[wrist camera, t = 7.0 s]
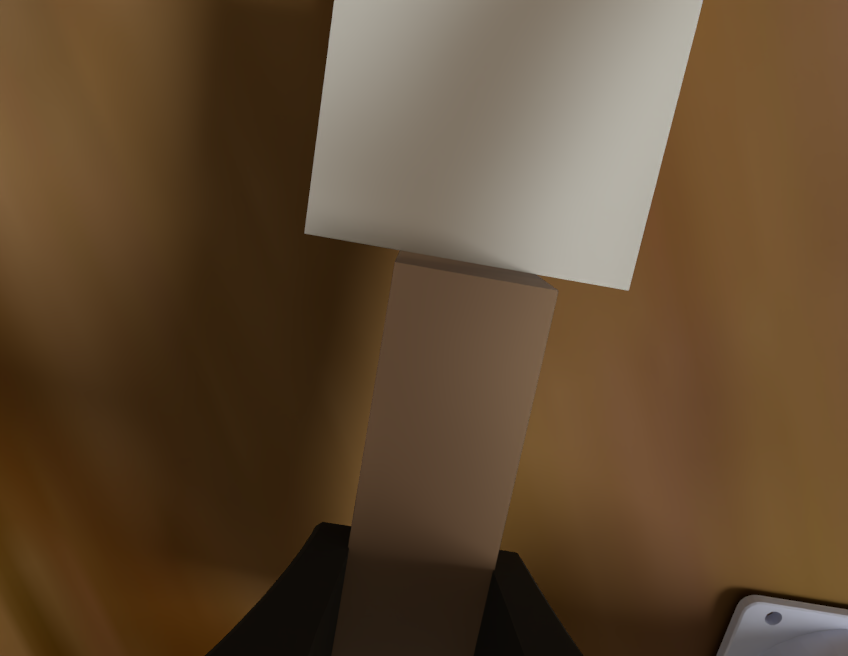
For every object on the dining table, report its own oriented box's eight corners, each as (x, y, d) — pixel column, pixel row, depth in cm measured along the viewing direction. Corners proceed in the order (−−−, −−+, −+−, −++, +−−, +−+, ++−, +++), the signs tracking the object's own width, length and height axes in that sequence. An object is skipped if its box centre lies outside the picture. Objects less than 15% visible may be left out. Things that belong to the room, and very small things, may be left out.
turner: (655, 30, 12) (771, -54, 8) (488, 720, 15) (508, 899, 11) (358, -28, 11) (324, -143, 8) (261, 687, 15) (205, 858, 11)
